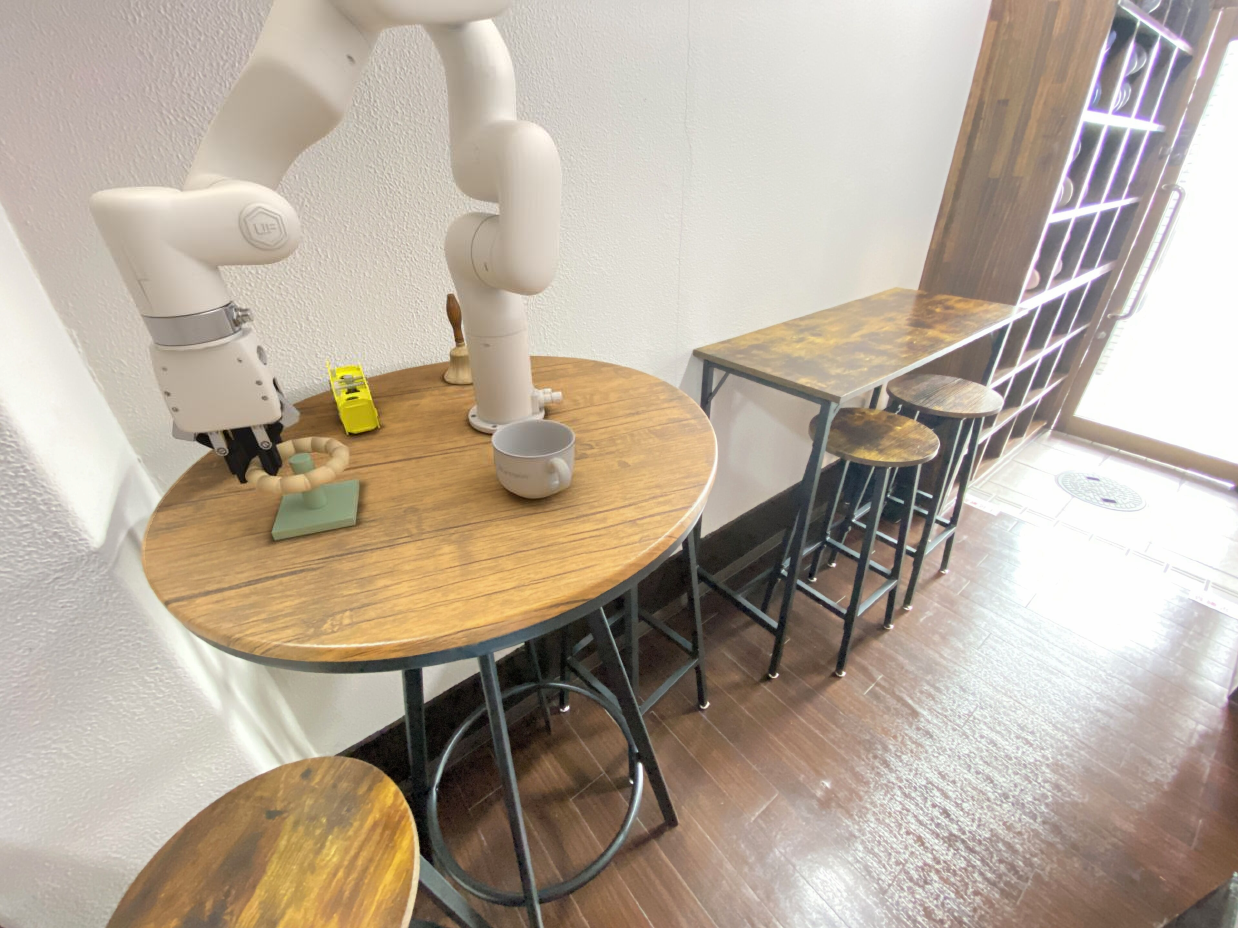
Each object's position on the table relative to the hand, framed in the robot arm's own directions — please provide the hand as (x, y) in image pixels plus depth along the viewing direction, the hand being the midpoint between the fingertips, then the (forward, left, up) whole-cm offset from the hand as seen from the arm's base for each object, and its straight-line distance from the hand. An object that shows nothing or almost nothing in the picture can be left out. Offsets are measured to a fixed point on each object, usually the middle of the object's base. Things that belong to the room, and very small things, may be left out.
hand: (260, 474), depth 64 cm
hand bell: (-27, -38, -7) cm, 47 cm away
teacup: (-33, +5, -7) cm, 34 cm away
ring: (-4, 0, +1) cm, 4 cm away
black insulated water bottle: (+5, -18, -7) cm, 20 cm away
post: (-5, 0, -7) cm, 8 cm away
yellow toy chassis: (-8, -27, -7) cm, 29 cm away
